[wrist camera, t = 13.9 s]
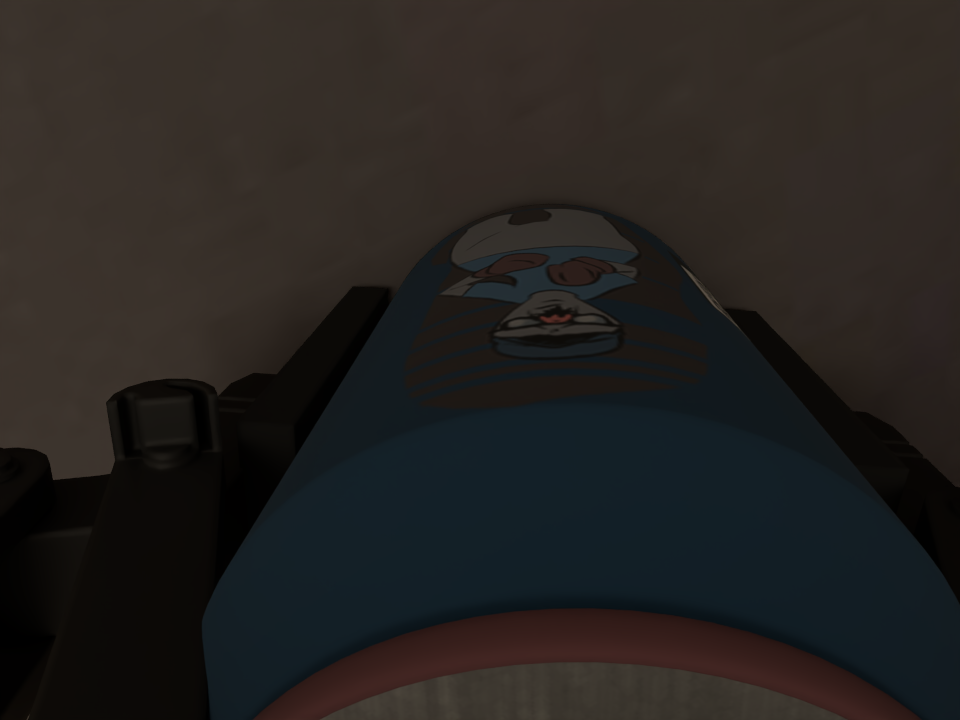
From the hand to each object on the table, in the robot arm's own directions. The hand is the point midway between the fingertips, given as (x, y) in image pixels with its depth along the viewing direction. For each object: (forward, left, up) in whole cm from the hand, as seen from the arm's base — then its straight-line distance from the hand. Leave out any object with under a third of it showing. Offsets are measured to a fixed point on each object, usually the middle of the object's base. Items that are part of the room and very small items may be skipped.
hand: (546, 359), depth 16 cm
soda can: (0, 0, -1) cm, 1 cm away
